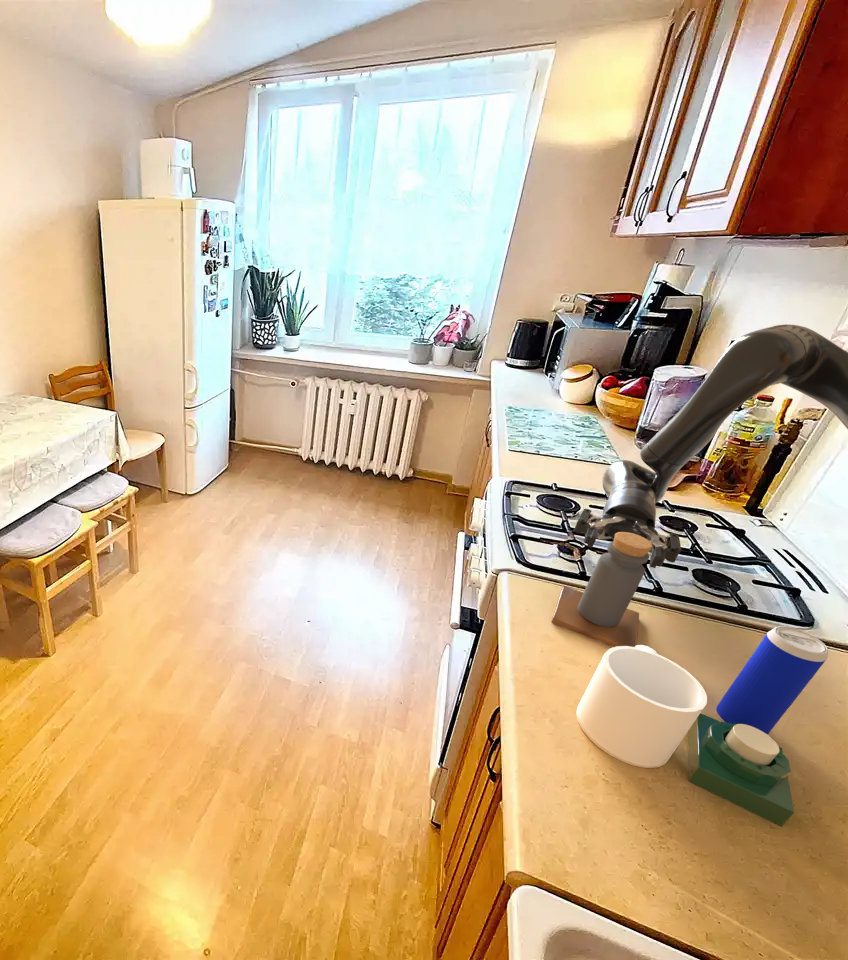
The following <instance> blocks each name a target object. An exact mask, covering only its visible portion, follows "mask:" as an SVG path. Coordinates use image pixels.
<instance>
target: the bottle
mask: <svg viewBox="0 0 848 960" xmlns="http://www.w3.org/2000/svg"><path fill="white" fill-rule="evenodd" d="M652 547H653V545H652V543H651V542H650V541H648V540H647V539H645V538H644V537H642V536H639V535H636V534H633V533H628V532H618V533H616V534H615V537H614V539H613V541H610V542H609V543H608V544H607V548H606V549H607V550H606V551H607V552H605V553H602V554H601V555H600V556H599V557H598V561H596V562H597V563H596V565H595V567H594V569H593V571H592V573H591V576H590V578H589V580H588V582H587V584H586V586H585V589H584V591H583V595H582V597H581V600H580V602H579V604H578V611H579V613H580V614H581V615H582V616H583V617H584V618H585V619H587V620H588V621H590V622H592V623H595V624H597V625H600V626H604V627H614V626H617V625H618V624H619V622H620V620H621V618H622V616H623V615H624V613H625V611H626V609H628V607H629V605H630V603H631V601H632V599H633V597H634V595H635V593H636V591H637V589H638V587H639V585H640V583H641V581H642V579H643V577H644V576H645V573H646V569H645V567H644V566H643V565H644V564H647V562H648V560H650V555H649V554H648V552H649V551H650V549H651V548H652Z"/></svg>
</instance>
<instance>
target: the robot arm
mask: <svg viewBox="0 0 848 960" xmlns="http://www.w3.org/2000/svg"><path fill="white" fill-rule="evenodd" d="M779 384H782V385H784V386H786V387H789V388H792V389H793V390H795V391H798V392H799V393H802V394H803V395H805V396H807V397H809V398H811V399H813V400H815V401H816V402H818V403H820V404H821V405H823V406H824V407H826V408H827V409H828V410H829V411H830V412H832V413H833V414H834V416H835V417H836V418H837V419H838V420H839V421H840V422H841V423H842V424H843V426H844V427H845V428H846V429H847V430H848V351H847V350H845V349H843V347H840V346H839V345H837V344H836V343H834V342H833V341H831V340H829V339H828V338H826V337H825V336H823V335H821V334H820V333H818V332H817V331H815V330H813V329H811V328H808V327H807V326H803V325H798V324H787V323H786V324H777V325H772V326H769V327H765V328H761V329H757V330H754V331H750V332H748V333H745V334H743V335H742V336H740V337H737V339H735V340H734V341H733V342H732V343H731V344H730V345H729V346H728V347H727V349H726V350H724V352H723V353H722V355H721V357H720V358H719V359H718V360H717V362H716V363H715V365H714V366H713V368H712V369H711V371H710V372H709V373H708V375H707V377H706V378H705V379H704V381H703V382H702V383H701V385H700V386H699V387H698V388H697V389H696V391H695V392H694V393H693V395H692V396H691V397H690V398H689V399H688V401H687V402H686V403H685V404H684V405H683V406H682V407H681V408H680V410H679V411H678V412H677V413H676V414H675V415H673V417H672V418H671V419H669V421H668V422H667V423H666V424H665V425H664V426H663V427H661V428H660V429H659V431H658V432H656V434H655V435H654V436H653V437H652V438H651V439H650V440H649V441H647V443H646V444H645V445H644V446H643V447H642V448H641V450H640V452H639V456H640V459H641V460H642V462H643V463H644V464H645V465H646V466H647V467H649V468H650V469H648V468H646V467H644V466H642V465H640V464H638V463H636V462H634V461H632V460H626V459H622V460H618V461H617V460H616V461H614V462H612V463H611V464H610V465H609V466H608V467H607V468H606V469H605V471H604V472H603V476H602V479H601V480H602V481H601V483H602V489H603V491H604V492H605V494H606V496H607V500H606V501H605V505H604V507H603V509H602V515H600V516H598V515H595V514H594V513H592V510H591V509H589V508H583V510H582V511H581V514H580V515H579V517H578V519H577V521H576V524H575V526H574V529H573V532H574V533H576V534H584V539H583V543H584V544H587V545H586V547H587V548H589V549H590V548H591V549H592V548H593V547H594V545H595V542H596V540H597V539H598V540H601V541H602V540H608V539H612V540H614V537H615V534H616V533H618V532H628V533H633V534H636V535H639V536H642V537H644V538H645V539H647V540H648V541H650V542H651V543H652V545H653V547H652V548H651V549H650V551H649V552H648V554H649V567H650V568H652V569H656V568H657V567H659V568H661V567H662V566H663V564H664V562H665V560H666V561H667V562H668V563H675V562H676V561H677V557H678V556H679V554H680V553H681V551H682V546H681V540H680V536H679V535H678V534H676V533H669V534H668V535H664V534H659V532H658V530H656V517H657V507H656V504H657V503H659V502H660V501H661V500H662V499H663V497H664V496H665V494H666V492H667V491H668V488H669V486H670V484H671V483H672V481H673V479H674V478H675V476H676V475H677V474H678V472H679V471H680V470H681V469H682V468H683V467H684V466H685V465H686V464H688V462H689V461H690V460H692V459H693V458H694V457H695V456H696V455H697V454H698V453H700V452H701V451H702V450H703V449H704V448H705V447H706V446H707V445H708V444H709V443H710V442H711V440H712V439H713V438H714V436H715V435H716V434H717V432H718V431H719V429H720V428H721V426H722V424H724V422H725V421H726V420H727V419H728V418H729V416H730V415H731V414H732V413H734V412H735V411H736V410H737V409H738V408H739V407H740V406H742V405H743V404H744V403H746V402H747V401H749V400H750V399H752V398H753V397H755V396H756V395H758V394H759V393H760V392H762V391H764V390H766V389H767V388H769V387H772V386H776V385H779Z"/></svg>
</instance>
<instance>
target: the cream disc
mask: <svg viewBox="0 0 848 960" xmlns="http://www.w3.org/2000/svg"><path fill="white" fill-rule="evenodd" d="M725 742H726V744H727V745H728V746H729V747H730V749H731V750H733V751H734V752H735V753H737V754H738V755H739V756H741V757H742V758H744V759H746V760H748V761H750V762H752V763H755V764H757V765H762V766H766V765H769V764H770V763H771V762H772V761H773V759H774V758H775V757H776V756H777V755H778V753H779V751H780V750H779V747H780V746H779V744H778V743H777V742H776V741H775V740H774V739H773V738H772V737H771V736H770V735H769V734H768V735H767V734H766V733H764V732H762V731H761V730H759V729H757V728H755V727H752V726H749V725H745V724H736V725H734V726H733V728H732V729H731V730H730V732H729V733H728V734H727V736H726V737H725Z"/></svg>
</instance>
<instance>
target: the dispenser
mask: <svg viewBox="0 0 848 960" xmlns="http://www.w3.org/2000/svg"><path fill="white" fill-rule="evenodd" d="M734 725H736V724H734V723H727V722H722V721H721V720H717V719H716V718H713V717H711V716H708V715H706V714H703V713H702V712H701V713H700V714H699V716H698V717H697V719H696V720H695V722H694V723H693V724H692V726H691V727H690V729H689V730H688V732H687V743H688V744H687V747H688V749H687V750H688V751H687V752H688V753H687V754H688V783H691V784H693V785H694V786H697V787H699V788H701V789H703V790H705V791H708V792H709V793H712V794H714V795H715V796H717V797H720V798H722V799H724V800H725V801H728V802H730V803H732V804H734V805H736V806H738V807H739V808H742V809H744V810H745V811H748V812H751V813H752V814H755V815H757V816H759V817H760V818H762V819H764V820H766V821H769V822H771V823H773V824H775V825H777V826H779V827H783V826H784V825H785V824H786V823H787V822H788V820H789V819H790V818H792V816H793V815H794V814H795V808H794V803H793V797H792V791H791V788H790V782H789V775H790V774H791V771H792V770H791V765H790V760H789V759H788V757H787V756H786V755H785V754H784V751H783V747H781V746H779V750H780V751H779V753H778V755H777V756H776V757H775V758H774V759H773V761H772V762H771V763H770V764H769V765H766V766H762V765H757V764H755V763H752V762H750V761H748V760H746V759H744V758H742V757H741V756H739V755H738V754H737V753H735V752H734V751H733V750H731V749H730V747H729V746H728V745H727V744H726V742H725V737H726V736H727V734H728V733H729V732H730V730H731V729H732V728H733V726H734Z"/></svg>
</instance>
